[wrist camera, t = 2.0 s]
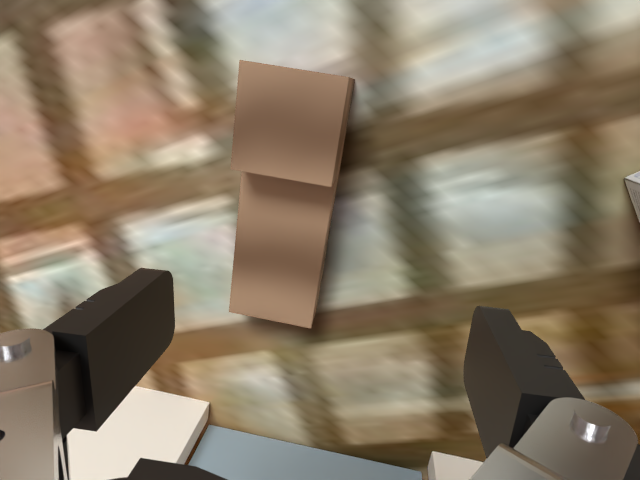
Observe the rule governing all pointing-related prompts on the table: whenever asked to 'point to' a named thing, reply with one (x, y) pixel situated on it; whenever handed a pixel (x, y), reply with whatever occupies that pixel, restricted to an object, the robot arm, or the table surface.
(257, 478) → the door
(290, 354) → the table surface
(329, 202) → the block
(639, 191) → the light bulb box
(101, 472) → the wall frame
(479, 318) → the robot arm
